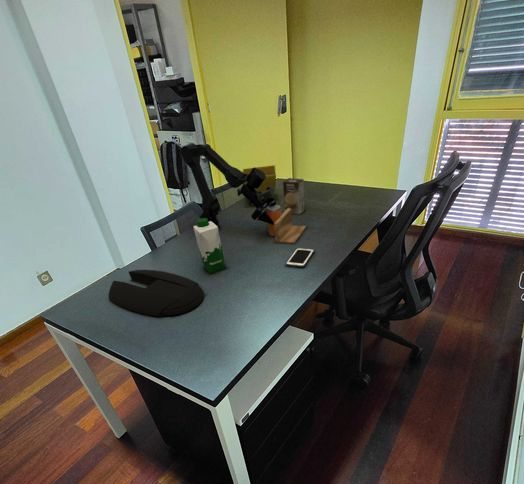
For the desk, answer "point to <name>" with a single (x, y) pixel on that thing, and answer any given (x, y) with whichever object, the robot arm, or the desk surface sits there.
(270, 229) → the tin can
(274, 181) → the cardboard box
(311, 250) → the cell phone
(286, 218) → the wooden bookend
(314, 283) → the desk surface
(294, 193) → the coffee box
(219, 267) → the milk carton
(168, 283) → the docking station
